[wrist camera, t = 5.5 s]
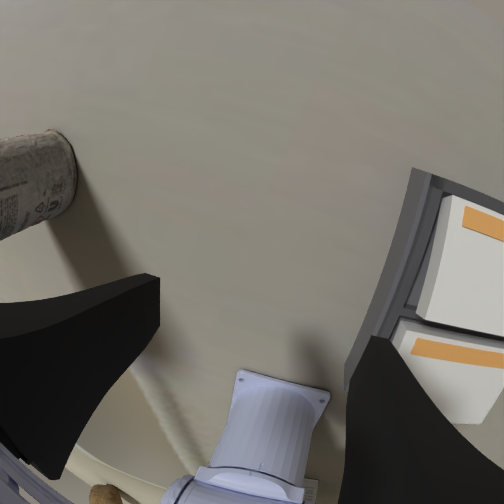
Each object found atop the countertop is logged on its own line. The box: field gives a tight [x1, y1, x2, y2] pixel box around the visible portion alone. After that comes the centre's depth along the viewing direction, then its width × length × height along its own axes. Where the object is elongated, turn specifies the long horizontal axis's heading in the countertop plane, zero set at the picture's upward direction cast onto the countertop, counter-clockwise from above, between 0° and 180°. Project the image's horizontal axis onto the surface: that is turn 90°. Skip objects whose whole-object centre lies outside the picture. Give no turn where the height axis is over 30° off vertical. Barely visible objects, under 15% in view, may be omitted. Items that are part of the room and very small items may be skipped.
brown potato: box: [89, 484, 123, 504], centre depth 48 cm, size 9×9×10 cm
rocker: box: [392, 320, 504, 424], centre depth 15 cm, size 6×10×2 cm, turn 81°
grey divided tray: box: [344, 167, 504, 393], centre depth 16 cm, size 15×12×4 cm
